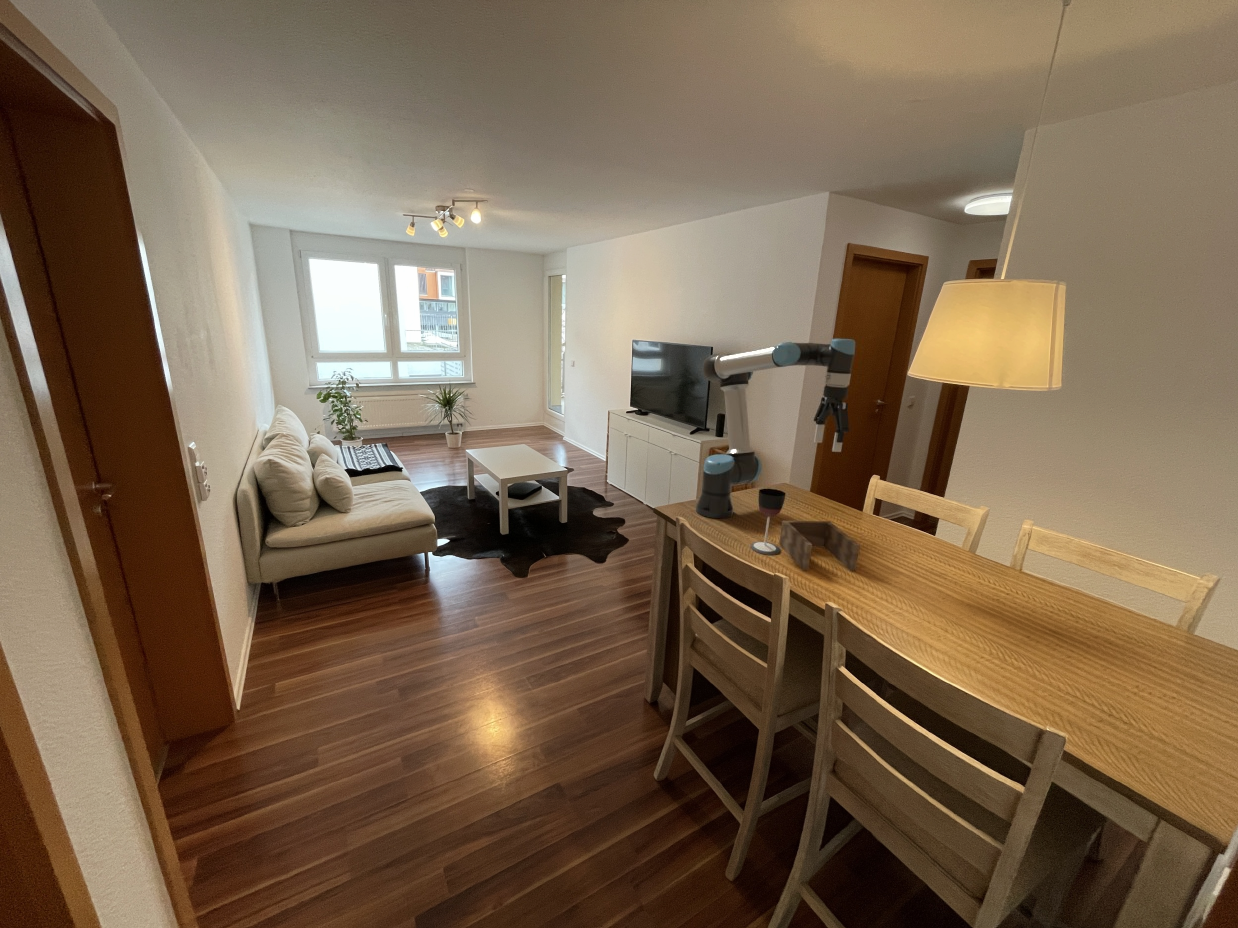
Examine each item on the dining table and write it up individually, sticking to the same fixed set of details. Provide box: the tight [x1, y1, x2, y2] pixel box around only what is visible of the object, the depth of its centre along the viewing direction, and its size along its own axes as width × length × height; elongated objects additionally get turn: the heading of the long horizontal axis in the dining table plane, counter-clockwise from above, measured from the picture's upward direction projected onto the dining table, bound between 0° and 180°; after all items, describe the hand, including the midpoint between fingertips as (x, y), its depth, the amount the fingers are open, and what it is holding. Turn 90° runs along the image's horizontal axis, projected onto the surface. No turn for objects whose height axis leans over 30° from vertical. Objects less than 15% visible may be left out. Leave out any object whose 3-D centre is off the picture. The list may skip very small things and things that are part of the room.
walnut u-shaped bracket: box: [778, 520, 861, 572], centre depth 165 cm, size 20×17×9 cm
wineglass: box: [754, 488, 787, 551], centre depth 169 cm, size 8×9×20 cm
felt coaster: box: [750, 541, 782, 556], centre depth 171 cm, size 10×10×1 cm
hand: (826, 446), depth 173 cm, fingers open, 13 cm apart
